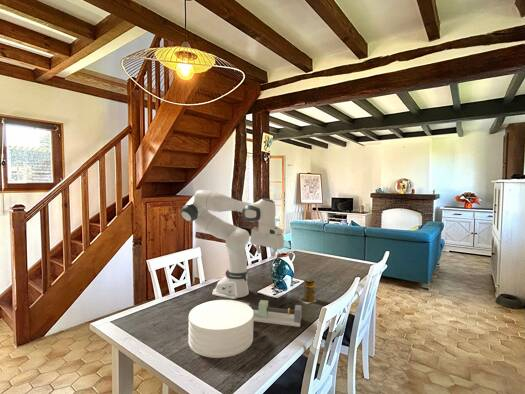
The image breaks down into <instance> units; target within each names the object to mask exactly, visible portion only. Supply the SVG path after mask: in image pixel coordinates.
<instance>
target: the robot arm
mask: <svg viewBox="0 0 525 394" xmlns="http://www.w3.org/2000/svg"><path fill="white" fill-rule="evenodd" d="M210 211H211V212H217V213H218V212H219V213H221V212H228V211H229V212H230V211H234V212H239V213H241V216H242V219H244V221H245V222H247V223H248V222H249V223H253V222H257V223H258V227H256V226H255V227H252V229H251V231H250V232H251V234H250V233H249V231H248V230H246V229H243V228H241V227H239V226H236V225H234V224H231V223H228V222H227V221H225V220H223V219H221V218H220V217H217V216H216V215H214V214H212V213H210ZM276 213H277V212H276V203H275V201H274V200H273V199H270V198H261V199H259V200H258V201H256V202H252V203H251V202H247V201H243V200H238V199H235V198H232V197H230V196H227V195H225V194H222V193H220V192H217V191H214V190H210V189H209V190H208V189H198V190H196V192H195V193H194V195H193V196H192V197H191V198H190V199H189V200H187V202H186V203H185V205H183V206H182V208H181V209H180V216H181V218H183V220H185V221H186V222H189V223H190V222H192V223H193V222H195V225H197V226H198V227H199V228H200V229H202V231H204V232H206V233H208V234H210V235H212V236H213V237H214V238H217V239H220V240H224V241H225V246H226V249H227V255H228V268H227V269H226V271H225V273H224V275H225V276H224V277H222V278H221V279H220V280H219V281H217V284H216V286H215V288H214V289H213V290H212V293H211V294H212V295H213V296H217V297H222V298H225V299H226V298H227V299H229V300H235V299H238V298H244V297H247V296H248V295H249V293H250V292H249V287H248V275H249V274H248V268H247V267H248V257H247V255H246V246H247V244H248V243H249V241H250V244H251V245H254V246H255V248H256V253H257V254H261V253H262V250H261V248H260V247H266V248H270V249H271V248H272V252H271V253H270V256H271V257H273V258H274V257H276V253H277V252H278V250H282V249H284V246H285V245H284V244H285V238H284V235H283V234H284V229H282V228H280V227H279V226H277V225H276V221H275V219H276Z"/></svg>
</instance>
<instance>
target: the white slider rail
mask: <svg viewBox="0 0 525 394" xmlns="http://www.w3.org/2000/svg"><path fill="white" fill-rule="evenodd" d="M244 303H245V304H247V305H248V306H250V307H251V308H252V310H253V313H254V315H253V322H258V323H265V324H275V325H282V326H289V327H291V326H292V327H298V328H300V327H301V324H302V305H301V304H300V305H299V304H295V305H294V309H291V308H290V307H289V308H277V307H271V306H270V307H269V306H268V307H267V311H268V314H267V317H262V316H259V305H252V304H250V302H244Z"/></svg>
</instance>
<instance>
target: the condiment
mask: <svg viewBox="0 0 525 394" xmlns="http://www.w3.org/2000/svg"><path fill="white" fill-rule="evenodd" d="M298 301H300V302H301V303H303V304H305V305H308V304H311V303H316V302H318V300H317V299H315V280H314V279H312V278H306V279H305V280H304V286H303V297H301V298H298Z"/></svg>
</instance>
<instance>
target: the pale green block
mask: <svg viewBox="0 0 525 394" xmlns="http://www.w3.org/2000/svg"><path fill="white" fill-rule="evenodd" d="M258 306H259V316H262V317H267V314H268V311H267V307H269V300H265V299H263V300H262V299H260V300H259V301H258Z"/></svg>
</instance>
